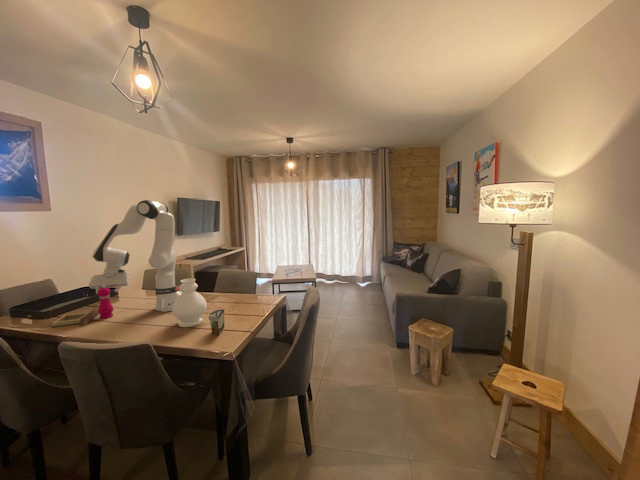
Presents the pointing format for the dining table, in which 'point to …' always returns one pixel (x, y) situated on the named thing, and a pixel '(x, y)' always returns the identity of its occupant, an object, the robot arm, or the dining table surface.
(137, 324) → the dining table surface
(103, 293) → the pepper mill
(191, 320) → the decorative vase
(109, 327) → the dining table surface
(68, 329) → the dining table surface
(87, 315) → the walnut sill
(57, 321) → the index plate
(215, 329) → the food container
